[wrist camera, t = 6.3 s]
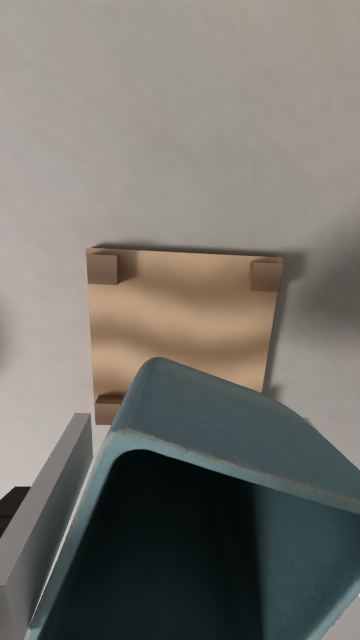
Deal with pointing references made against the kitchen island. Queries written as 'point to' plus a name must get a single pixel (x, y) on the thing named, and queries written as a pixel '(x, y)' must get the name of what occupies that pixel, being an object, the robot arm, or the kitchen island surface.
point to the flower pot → (206, 521)
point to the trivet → (178, 316)
